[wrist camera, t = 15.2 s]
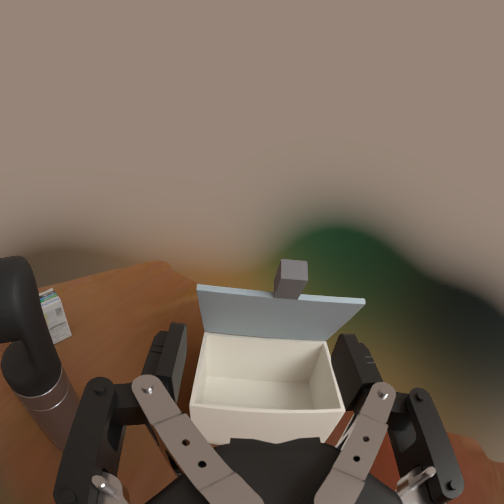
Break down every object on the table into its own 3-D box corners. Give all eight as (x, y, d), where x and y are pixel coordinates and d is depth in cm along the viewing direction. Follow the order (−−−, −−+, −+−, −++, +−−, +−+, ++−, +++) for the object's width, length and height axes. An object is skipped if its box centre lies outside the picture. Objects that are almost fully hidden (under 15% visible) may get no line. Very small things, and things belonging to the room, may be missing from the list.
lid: (192, 269, 30) (196, 250, 31) (204, 331, 47) (206, 318, 49) (382, 286, 31) (379, 268, 32) (326, 340, 48) (325, 327, 50)
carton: (193, 441, 38) (189, 405, 33) (204, 375, 52) (204, 332, 48) (321, 446, 39) (345, 411, 34) (310, 382, 53) (326, 341, 48)
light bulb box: (62, 322, 58) (52, 286, 53) (72, 335, 54) (61, 299, 50) (30, 337, 49) (16, 301, 45) (38, 353, 46) (22, 316, 42)
